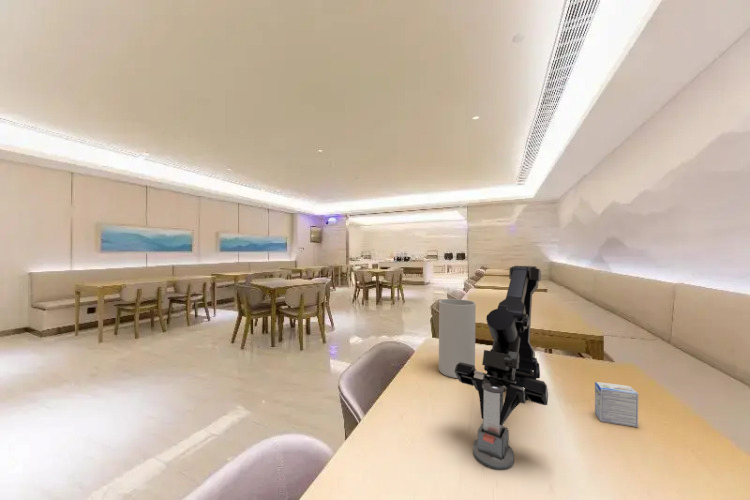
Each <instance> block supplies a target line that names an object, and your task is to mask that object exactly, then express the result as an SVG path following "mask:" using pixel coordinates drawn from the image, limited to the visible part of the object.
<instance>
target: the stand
mask: <svg viewBox="0 0 750 500" xmlns="http://www.w3.org/2000/svg"><path fill="white" fill-rule="evenodd" d="M509 435H510V434H509V428H508V427H506V426H503V435H502V437H501V438H499V437H496V436H493V435H490V434H488V433H485V432H483V422H482V423H481V424H480V427H479V428H478V430H477V438H476V439H475V440H474V441H473V444H472V454H473V456H474V459H475V460H476V461H477V462H478V463H480V464H481V465H483V466H484V467H486V468H489V469H492V470H497V471H505V470H506V471H507V470H509V469H511V468H513V466H514V464H515V453H514V450H513V449H512V447H511V446H510V444H509V443H510V442H509V437H510V436H509Z"/></svg>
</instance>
